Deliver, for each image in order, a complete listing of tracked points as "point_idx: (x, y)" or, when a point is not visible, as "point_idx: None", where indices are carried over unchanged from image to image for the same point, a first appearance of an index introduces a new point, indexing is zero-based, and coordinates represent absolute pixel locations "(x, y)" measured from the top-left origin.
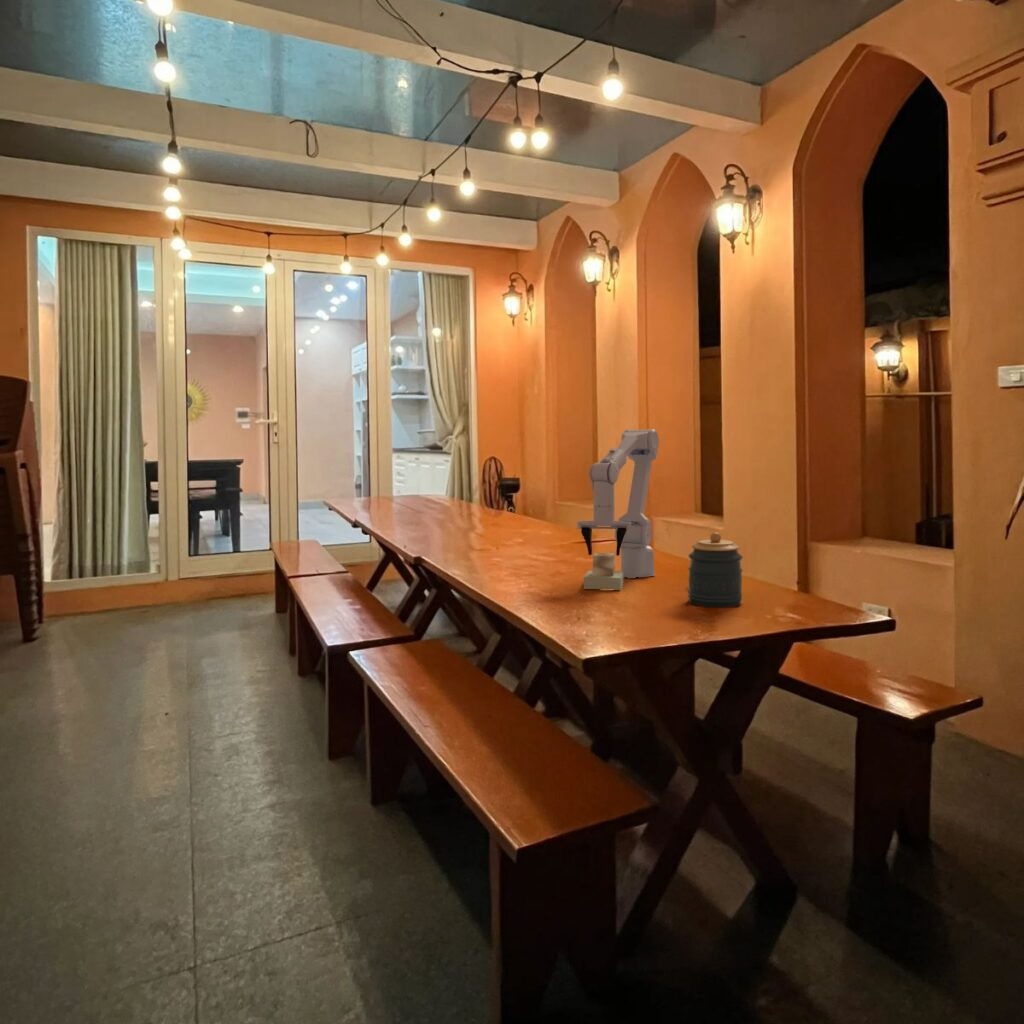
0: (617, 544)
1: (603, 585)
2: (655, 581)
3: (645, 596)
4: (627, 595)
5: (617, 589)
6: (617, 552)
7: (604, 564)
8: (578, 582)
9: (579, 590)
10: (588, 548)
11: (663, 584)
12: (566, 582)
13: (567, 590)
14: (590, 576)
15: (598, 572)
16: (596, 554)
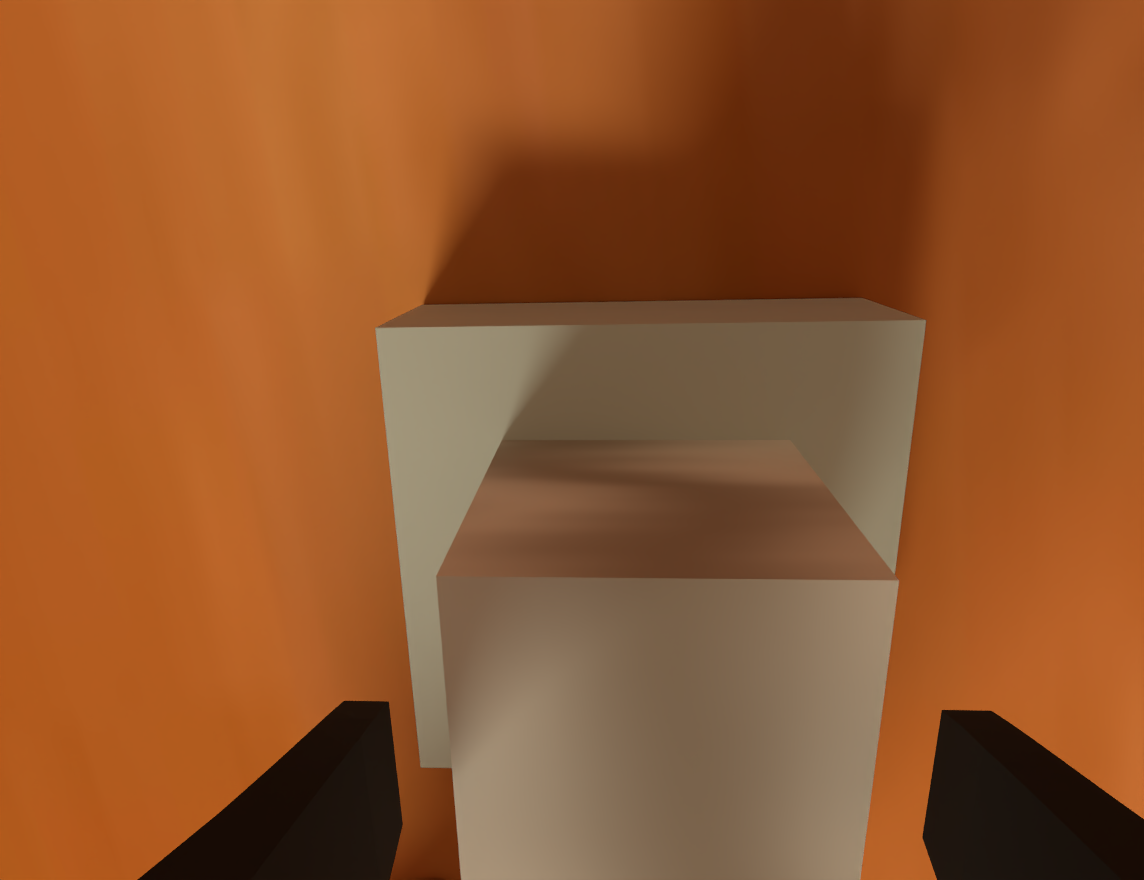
0: (234, 877)
1: (621, 307)
2: (179, 810)
3: (77, 25)
4: (294, 41)
5: (454, 304)
6: (338, 734)
7: (623, 502)
8: (937, 677)
9: (914, 240)
10: (1099, 796)
11: (72, 693)
12: (1075, 661)
13: (1071, 211)
14: (823, 374)
15: (714, 453)
16: (822, 772)
